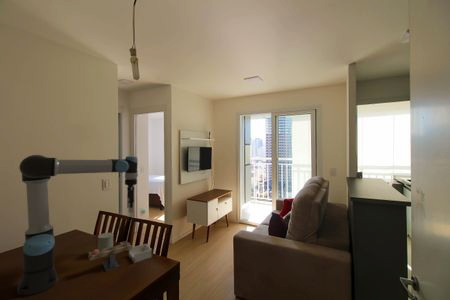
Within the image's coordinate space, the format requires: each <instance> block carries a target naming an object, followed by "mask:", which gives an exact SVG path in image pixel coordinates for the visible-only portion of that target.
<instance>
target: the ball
mask: <svg viewBox="0 0 450 300" xmlns="http://www.w3.org/2000/svg"><path fill="white" fill-rule="evenodd" d="M98 253H99V251H98V248H96V249H93V250H92V254H93V255H96V254H98Z"/></svg>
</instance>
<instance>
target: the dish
mask: <svg viewBox="0 0 450 300" xmlns="http://www.w3.org/2000/svg"><path fill="white" fill-rule="evenodd" d="M128 257H129V259H131V261H132V262H133V263H134V264H136V263H138V262H142V261H145V260H148V259H152V258H153V249H152V248H151V247H150V246H149V245H148V244H147V243H144V244H140V245H136V246H132V249H130V250H128Z"/></svg>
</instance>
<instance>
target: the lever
mask: <svg viewBox="0 0 450 300" xmlns="http://www.w3.org/2000/svg"><path fill="white" fill-rule="evenodd" d="M132 247H133V245H132V244H131V243H130V242H128V241H121V242H119V244H118V245H115V246H113V247H111V248H107V249H103V250H99V253H98V254H96V255H93V254H92V252H93V251H92V252H91V251H88V259H89V261H93V260H97V259H100V258H105V257H107V256H108V255H110V254H114V253H115V255H116V254H119V253H123V252H125V251H129V250H130V249H132Z"/></svg>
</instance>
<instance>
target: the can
mask: <svg viewBox="0 0 450 300" xmlns="http://www.w3.org/2000/svg"><path fill="white" fill-rule="evenodd" d="M111 247H114V232H113V233H112V232H104V233H100V234H98V235H97V250H98V251H99V250H103V249H107V248H111Z"/></svg>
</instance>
